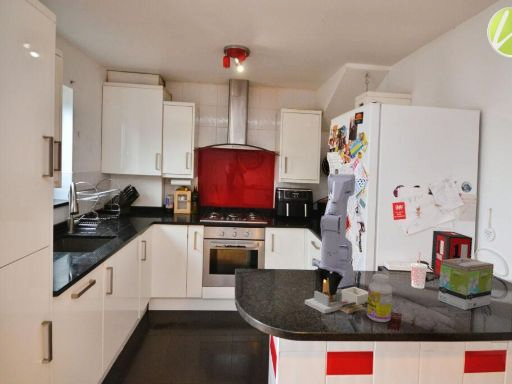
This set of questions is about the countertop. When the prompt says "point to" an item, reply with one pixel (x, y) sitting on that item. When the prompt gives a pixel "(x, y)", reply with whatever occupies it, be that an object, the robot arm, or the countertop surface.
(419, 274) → the beverage cup
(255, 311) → the countertop surface
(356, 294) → the white square open box
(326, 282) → the cell
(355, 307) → the trough
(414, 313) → the countertop surface
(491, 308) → the countertop surface
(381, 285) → the supplement bottle
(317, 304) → the white compartment tray
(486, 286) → the tea box
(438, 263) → the cleaning product box
